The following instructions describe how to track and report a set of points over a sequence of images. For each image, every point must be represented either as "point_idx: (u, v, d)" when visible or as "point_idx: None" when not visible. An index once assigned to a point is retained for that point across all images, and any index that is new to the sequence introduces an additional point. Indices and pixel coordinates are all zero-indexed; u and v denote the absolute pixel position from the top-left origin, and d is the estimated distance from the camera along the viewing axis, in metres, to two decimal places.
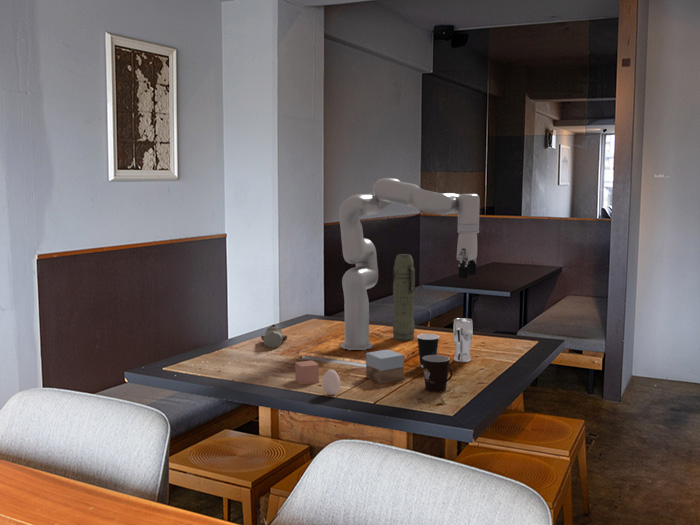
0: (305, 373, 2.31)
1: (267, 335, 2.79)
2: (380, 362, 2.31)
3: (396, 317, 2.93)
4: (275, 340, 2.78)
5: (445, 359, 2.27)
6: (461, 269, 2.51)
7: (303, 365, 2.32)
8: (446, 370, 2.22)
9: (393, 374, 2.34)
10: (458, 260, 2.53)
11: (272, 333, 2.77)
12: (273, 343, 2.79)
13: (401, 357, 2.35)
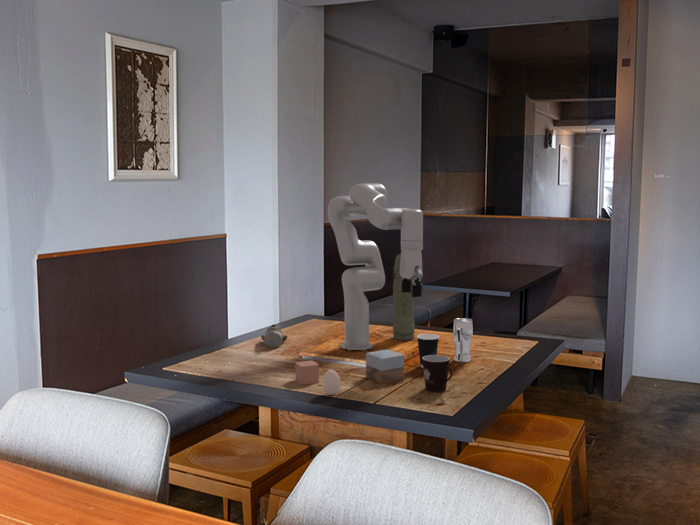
0: (305, 373, 2.31)
1: (267, 335, 2.79)
2: (380, 362, 2.31)
3: (396, 317, 2.93)
4: (275, 340, 2.78)
5: (445, 359, 2.27)
6: (416, 287, 2.41)
7: (303, 365, 2.32)
8: (446, 370, 2.22)
9: (393, 374, 2.34)
10: (409, 279, 2.42)
11: (272, 333, 2.77)
12: (273, 342, 2.79)
13: (401, 357, 2.35)
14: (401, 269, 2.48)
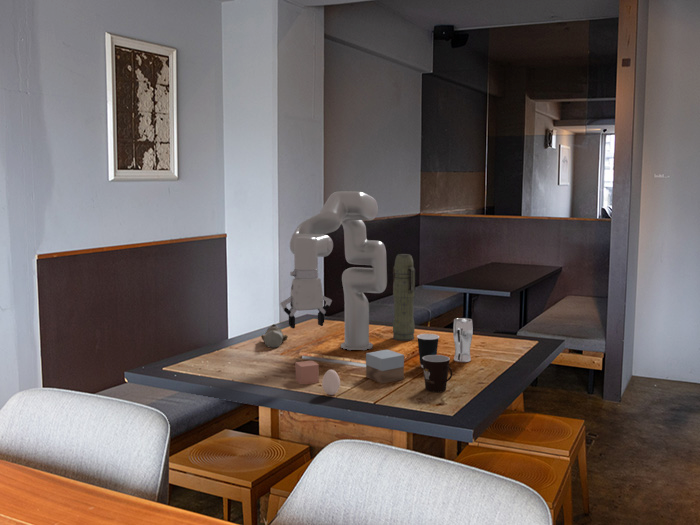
0: (305, 373, 2.31)
1: (267, 335, 2.79)
2: (381, 362, 2.31)
3: (396, 317, 2.93)
4: (276, 339, 2.79)
5: (445, 359, 2.27)
6: None
7: (303, 365, 2.32)
8: (446, 370, 2.22)
9: (393, 374, 2.34)
10: (320, 308, 2.32)
11: (272, 333, 2.78)
12: (274, 342, 2.79)
13: (401, 357, 2.35)
14: (301, 302, 2.28)
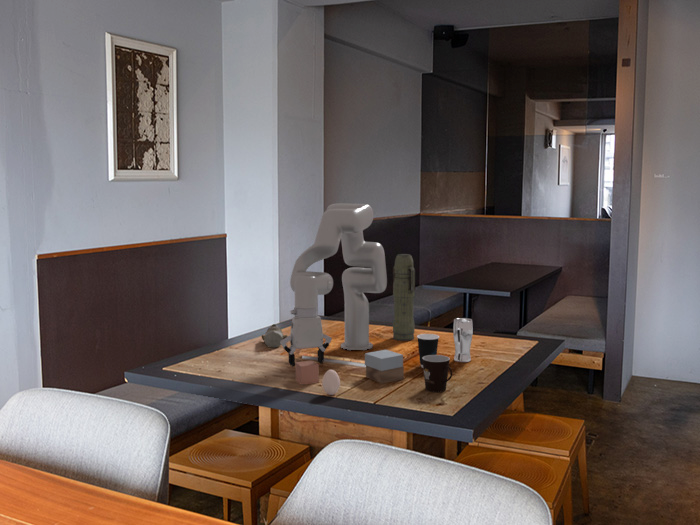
0: (305, 373, 2.31)
1: (268, 335, 2.79)
2: (380, 362, 2.31)
3: (396, 317, 2.93)
4: (276, 339, 2.79)
5: (445, 359, 2.27)
6: None
7: (303, 365, 2.32)
8: (446, 370, 2.22)
9: (393, 374, 2.34)
10: (320, 346, 2.33)
11: (273, 333, 2.78)
12: (274, 342, 2.79)
13: (400, 357, 2.35)
14: (301, 341, 2.30)
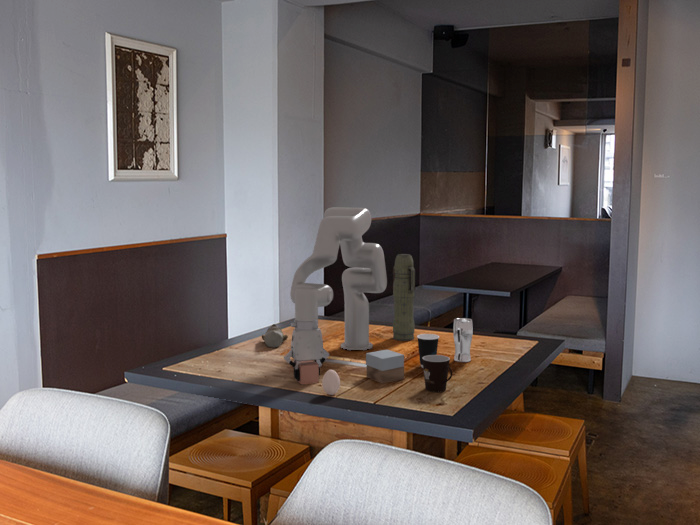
0: (305, 373, 2.31)
1: (268, 335, 2.79)
2: (381, 362, 2.32)
3: (396, 317, 2.93)
4: (276, 339, 2.79)
5: (445, 359, 2.27)
6: None
7: (303, 364, 2.32)
8: (446, 370, 2.22)
9: (393, 374, 2.34)
10: (320, 358, 2.34)
11: (273, 333, 2.78)
12: (274, 342, 2.79)
13: (401, 357, 2.36)
14: (302, 353, 2.30)
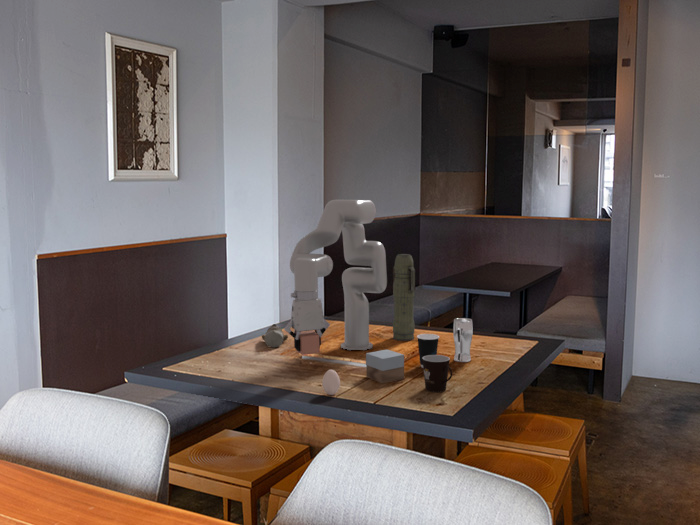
0: (306, 343, 2.31)
1: (268, 335, 2.79)
2: (382, 362, 2.31)
3: (396, 317, 2.93)
4: (276, 339, 2.79)
5: (445, 359, 2.27)
6: None
7: (304, 335, 2.32)
8: (446, 370, 2.22)
9: (393, 374, 2.34)
10: (321, 328, 2.33)
11: (273, 333, 2.78)
12: (274, 342, 2.79)
13: (402, 357, 2.36)
14: (302, 323, 2.30)
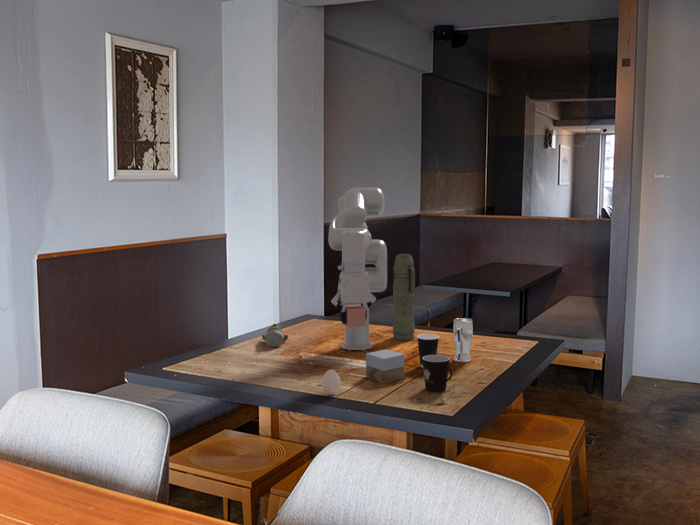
0: (352, 316, 2.31)
1: (268, 334, 2.79)
2: (382, 362, 2.31)
3: (396, 317, 2.93)
4: (277, 339, 2.79)
5: (445, 359, 2.27)
6: None
7: (350, 308, 2.32)
8: (446, 370, 2.22)
9: (393, 374, 2.35)
10: (367, 302, 2.33)
11: (273, 332, 2.78)
12: (275, 342, 2.80)
13: (402, 357, 2.36)
14: (349, 296, 2.30)
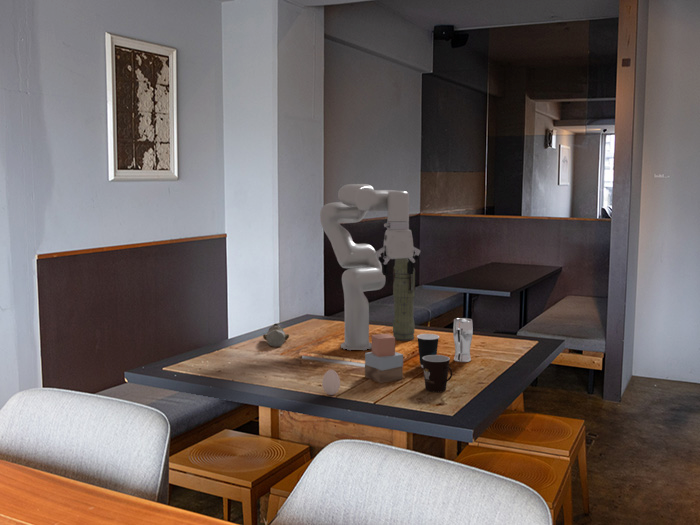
0: (382, 345, 2.34)
1: (270, 334, 2.80)
2: (381, 362, 2.32)
3: (396, 317, 2.93)
4: (279, 338, 2.80)
5: (445, 359, 2.27)
6: None
7: (380, 337, 2.35)
8: (446, 370, 2.22)
9: (392, 374, 2.35)
10: (410, 257, 2.51)
11: (275, 332, 2.79)
12: (276, 341, 2.81)
13: (401, 357, 2.36)
14: (395, 251, 2.48)
